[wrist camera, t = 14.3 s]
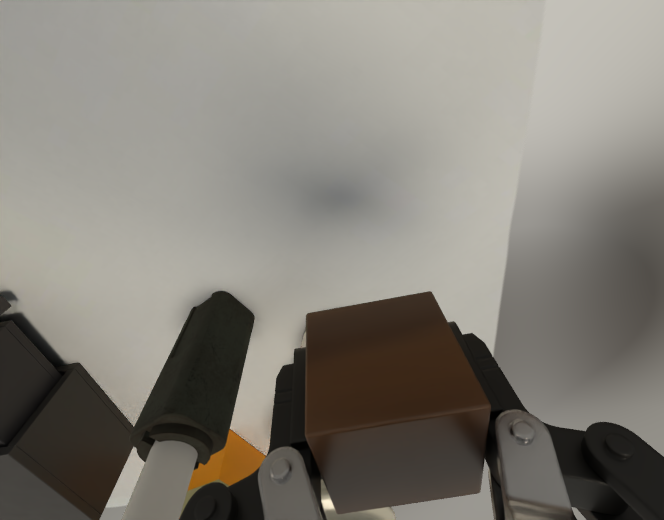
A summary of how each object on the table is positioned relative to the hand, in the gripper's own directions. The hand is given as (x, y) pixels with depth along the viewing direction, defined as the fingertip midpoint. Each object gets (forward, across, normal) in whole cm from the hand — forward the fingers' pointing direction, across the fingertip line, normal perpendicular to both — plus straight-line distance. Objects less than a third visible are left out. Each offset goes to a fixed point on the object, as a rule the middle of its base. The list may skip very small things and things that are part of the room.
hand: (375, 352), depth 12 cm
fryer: (+17, +36, +20) cm, 45 cm away
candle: (+17, +14, +10) cm, 24 cm away
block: (0, 0, 0) cm, 0 cm away
